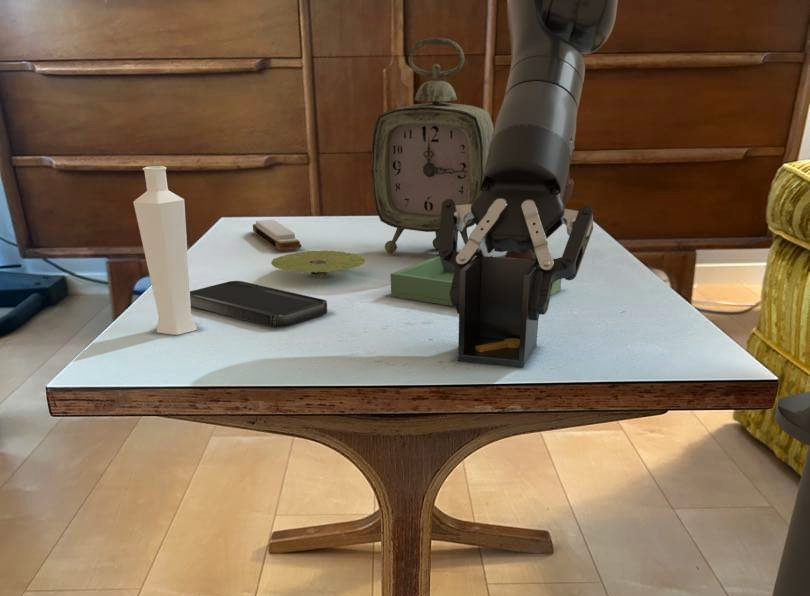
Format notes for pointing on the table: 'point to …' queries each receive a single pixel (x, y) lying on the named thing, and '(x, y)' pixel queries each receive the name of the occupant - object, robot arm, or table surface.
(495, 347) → the key
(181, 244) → the perfume bottle
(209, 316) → the table surface
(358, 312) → the table surface
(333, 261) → the green round disc
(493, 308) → the holder
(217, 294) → the phone
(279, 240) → the harmonica
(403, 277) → the tray
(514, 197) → the robot arm
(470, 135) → the tabletop clock
